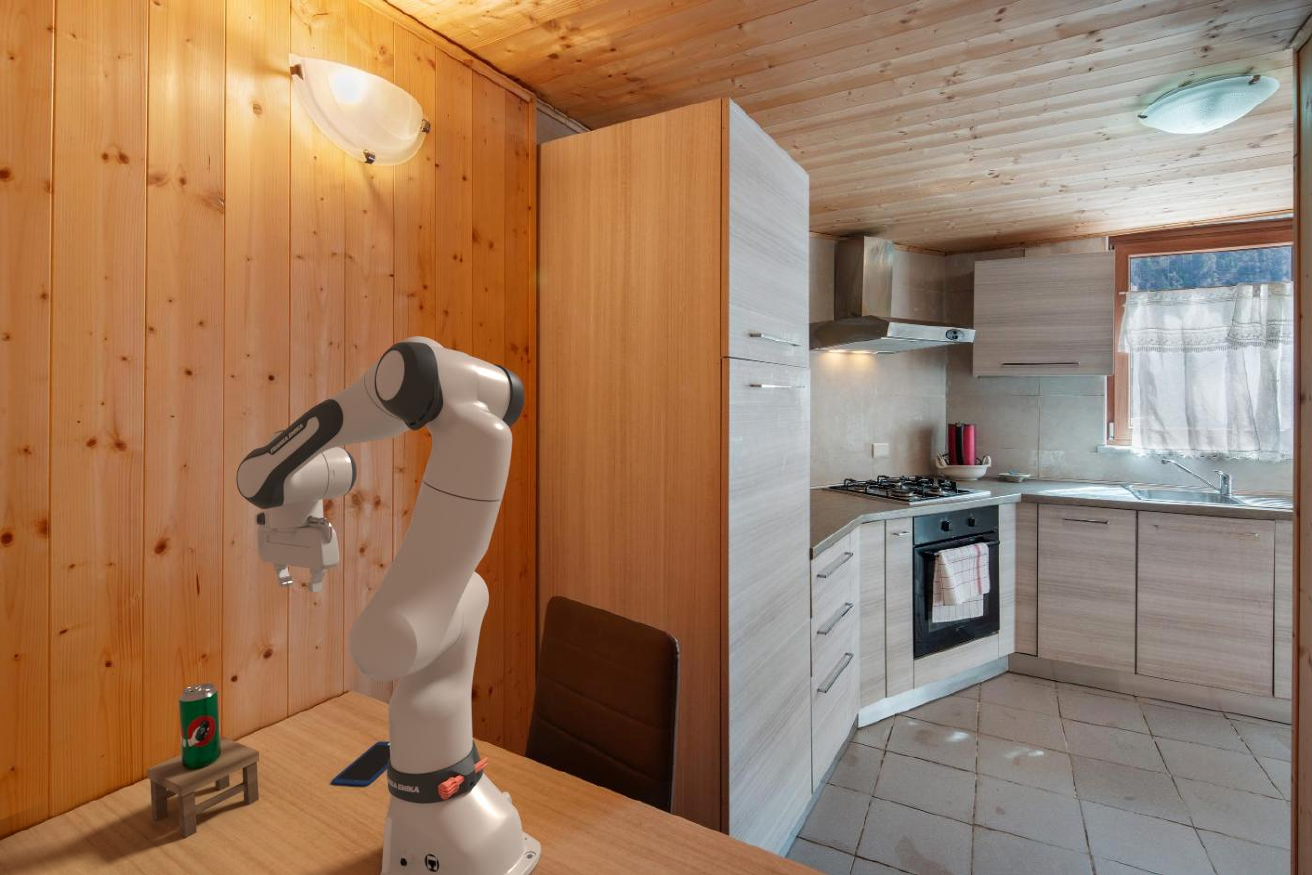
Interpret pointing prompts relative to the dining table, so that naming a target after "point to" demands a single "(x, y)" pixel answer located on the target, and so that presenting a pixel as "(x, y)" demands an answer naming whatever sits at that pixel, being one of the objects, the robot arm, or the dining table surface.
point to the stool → (202, 783)
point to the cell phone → (365, 767)
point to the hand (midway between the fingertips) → (300, 588)
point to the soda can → (199, 726)
